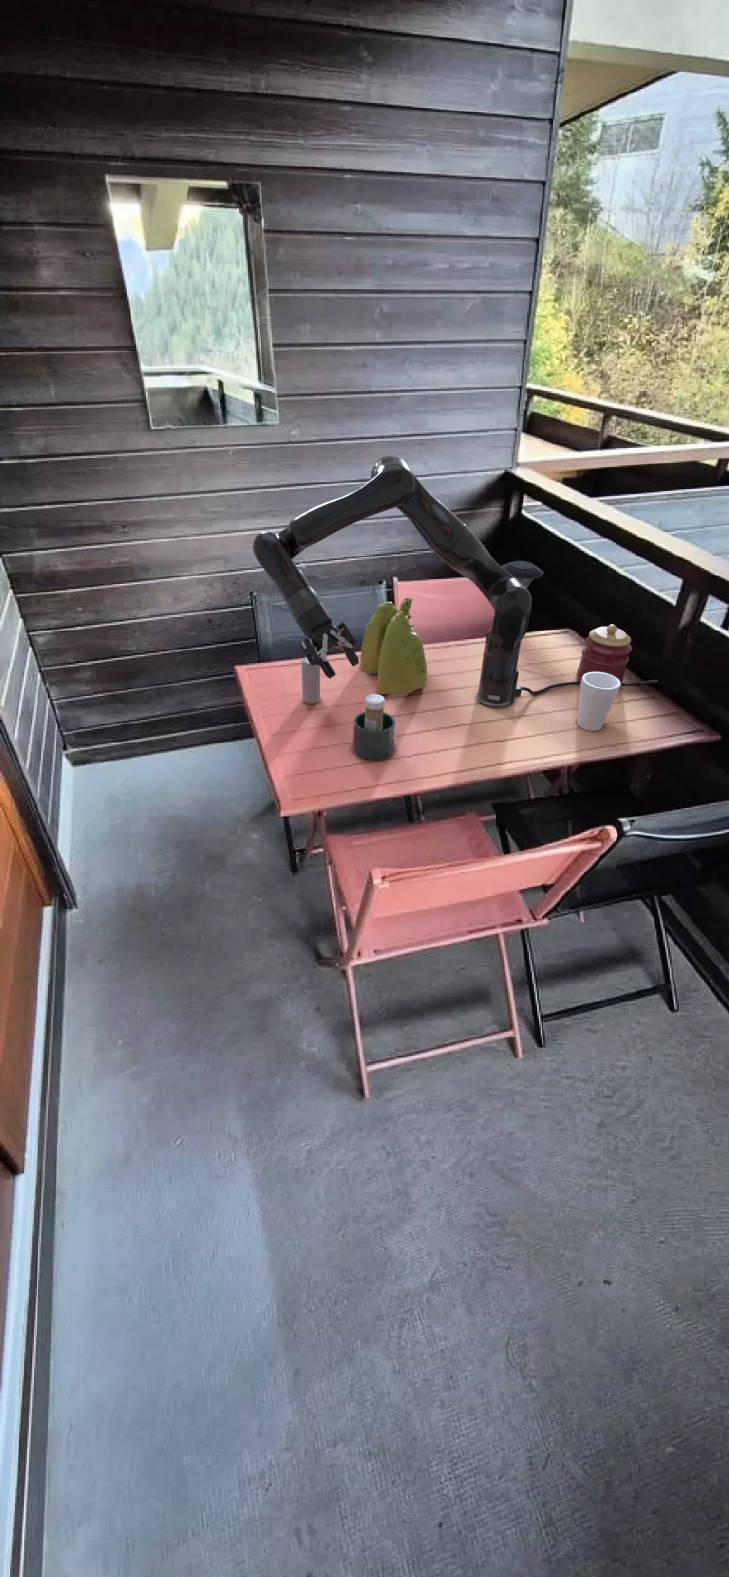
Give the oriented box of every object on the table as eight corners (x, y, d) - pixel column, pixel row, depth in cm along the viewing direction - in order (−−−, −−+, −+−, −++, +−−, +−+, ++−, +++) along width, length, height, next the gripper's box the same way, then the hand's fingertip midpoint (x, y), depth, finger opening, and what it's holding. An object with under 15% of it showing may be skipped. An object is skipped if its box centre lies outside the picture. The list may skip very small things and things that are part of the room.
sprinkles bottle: (385, 748, 170) (388, 699, 162) (370, 753, 168) (372, 704, 160) (375, 739, 173) (377, 691, 165) (359, 744, 171) (361, 696, 163)
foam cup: (609, 719, 187) (621, 675, 179) (607, 736, 179) (619, 692, 172) (573, 712, 189) (583, 669, 181) (569, 729, 182) (580, 685, 174)
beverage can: (306, 706, 187) (306, 665, 180) (299, 698, 190) (298, 657, 183) (323, 702, 189) (323, 662, 182) (315, 694, 192) (315, 654, 185)
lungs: (434, 694, 194) (443, 612, 180) (382, 702, 190) (386, 618, 176) (402, 655, 213) (408, 578, 199) (354, 661, 209) (356, 582, 194)
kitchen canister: (626, 679, 205) (642, 623, 195) (613, 697, 196) (630, 639, 186) (583, 667, 211) (597, 612, 200) (569, 684, 202) (582, 627, 191)
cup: (388, 737, 176) (390, 709, 171) (397, 759, 168) (399, 730, 163) (350, 740, 174) (350, 712, 169) (357, 762, 166) (358, 733, 162)
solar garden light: (533, 663, 212) (553, 565, 194) (511, 676, 205) (528, 575, 187) (500, 650, 218) (516, 554, 201) (477, 662, 211) (491, 564, 193)
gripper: (295, 612, 156) (333, 674, 158) (337, 595, 165) (372, 654, 167) (279, 627, 162) (316, 687, 163) (320, 610, 171) (355, 667, 172)
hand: (344, 670), depth 165 cm, fingers open, 8 cm apart
